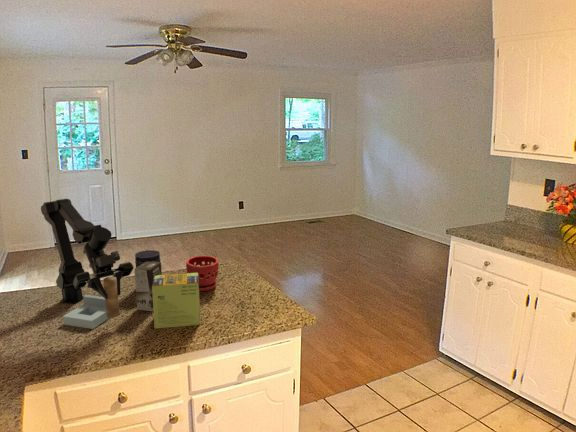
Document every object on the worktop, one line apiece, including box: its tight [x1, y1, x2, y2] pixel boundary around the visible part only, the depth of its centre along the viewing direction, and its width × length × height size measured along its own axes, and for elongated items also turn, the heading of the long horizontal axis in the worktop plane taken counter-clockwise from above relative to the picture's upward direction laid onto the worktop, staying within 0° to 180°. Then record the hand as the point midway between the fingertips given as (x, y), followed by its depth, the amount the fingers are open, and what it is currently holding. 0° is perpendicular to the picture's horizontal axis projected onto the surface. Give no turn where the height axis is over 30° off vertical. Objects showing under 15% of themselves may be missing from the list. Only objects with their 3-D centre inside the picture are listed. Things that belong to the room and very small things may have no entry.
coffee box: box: [134, 261, 163, 312], centre depth 166 cm, size 9×6×16 cm
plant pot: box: [185, 255, 219, 292], centre depth 184 cm, size 13×13×12 cm
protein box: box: [152, 272, 201, 329], centre depth 154 cm, size 10×15×16 cm
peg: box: [102, 276, 120, 319], centre depth 148 cm, size 4×4×13 cm
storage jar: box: [134, 249, 161, 268], centre depth 182 cm, size 10×10×15 cm
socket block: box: [62, 294, 110, 330], centre depth 155 cm, size 12×12×6 cm
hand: (113, 296), depth 146 cm, fingers closed on peg, 4 cm apart
